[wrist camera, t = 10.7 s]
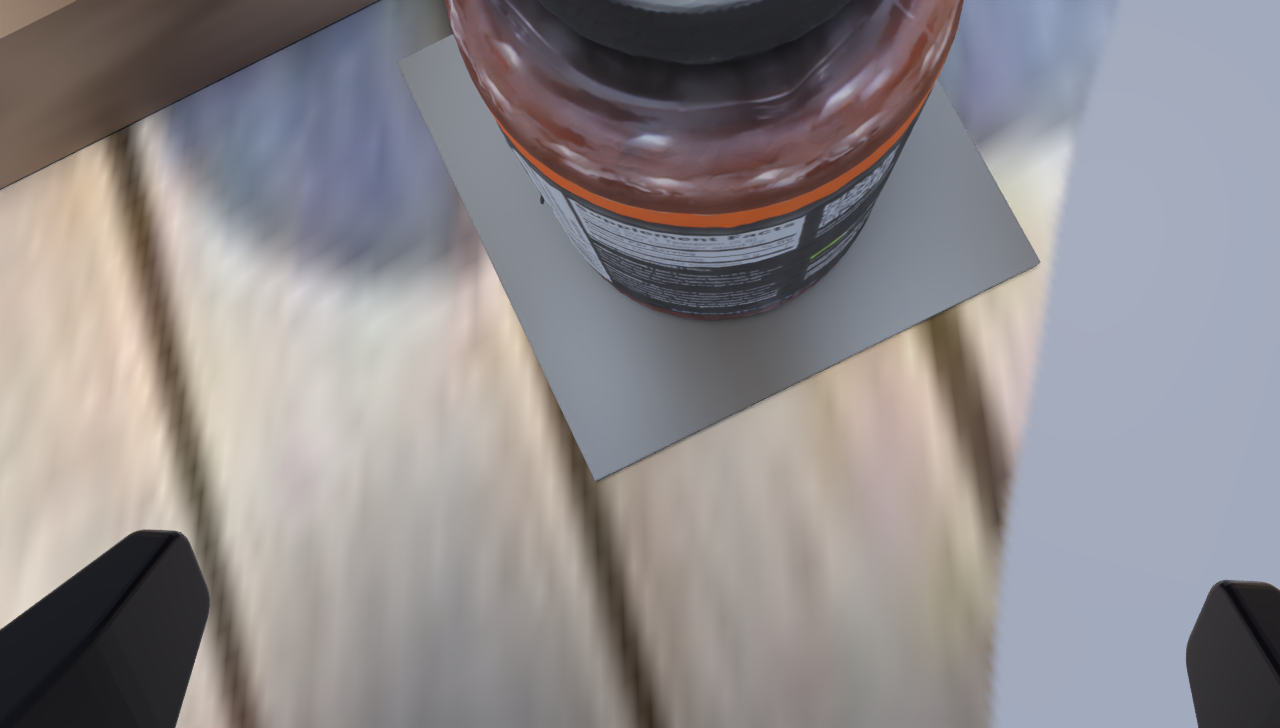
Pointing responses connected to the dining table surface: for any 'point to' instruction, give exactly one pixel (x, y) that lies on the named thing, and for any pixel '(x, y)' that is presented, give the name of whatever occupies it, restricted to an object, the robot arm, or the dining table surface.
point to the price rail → (540, 215)
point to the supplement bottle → (707, 130)
